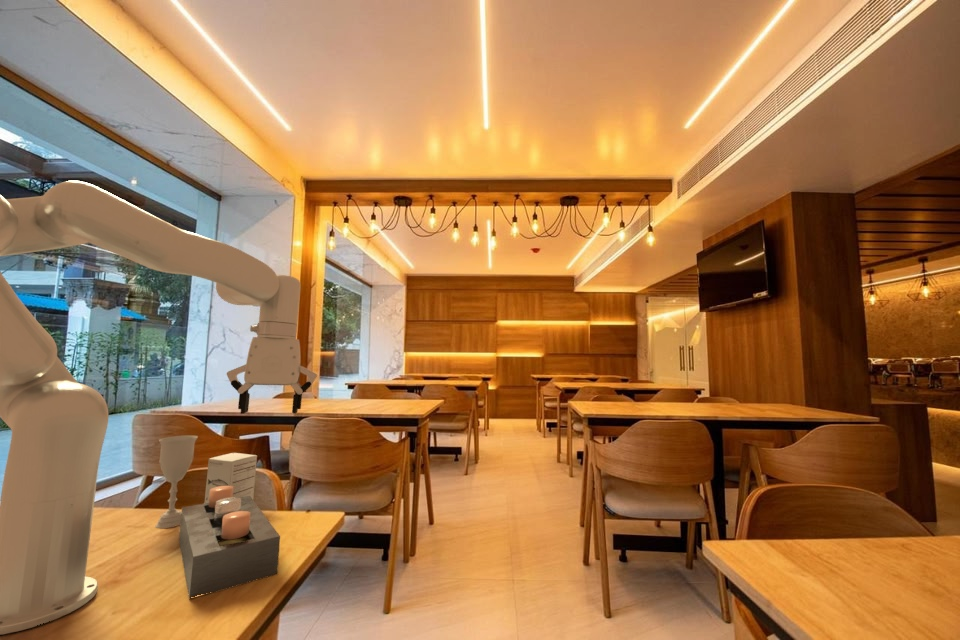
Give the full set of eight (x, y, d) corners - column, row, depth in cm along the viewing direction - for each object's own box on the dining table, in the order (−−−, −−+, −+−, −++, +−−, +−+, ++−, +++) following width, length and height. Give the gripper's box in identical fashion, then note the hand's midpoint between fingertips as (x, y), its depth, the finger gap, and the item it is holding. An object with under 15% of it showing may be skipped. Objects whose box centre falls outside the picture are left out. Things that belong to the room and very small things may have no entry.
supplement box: (201, 514, 92) (207, 458, 93) (230, 504, 99) (234, 451, 100) (226, 518, 90) (231, 460, 91) (254, 507, 97) (258, 454, 98)
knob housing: (189, 599, 59) (193, 556, 60) (178, 538, 79) (181, 507, 80) (277, 573, 67) (280, 536, 67) (247, 524, 87) (249, 495, 87)
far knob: (209, 509, 78) (211, 493, 78) (207, 503, 81) (208, 488, 81) (233, 504, 80) (234, 489, 81) (230, 499, 83) (231, 484, 84)
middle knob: (215, 523, 71) (217, 506, 71) (212, 516, 74) (214, 500, 74) (241, 518, 73) (242, 501, 74) (237, 512, 76) (239, 495, 77)
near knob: (223, 541, 64) (224, 521, 64) (219, 533, 67) (221, 514, 67) (251, 535, 67) (252, 516, 67) (246, 527, 70) (248, 509, 70)
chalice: (172, 530, 83) (181, 441, 85) (140, 529, 83) (149, 441, 85) (197, 517, 90) (205, 435, 92) (168, 516, 90) (176, 435, 92)
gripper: (226, 328, 80) (217, 415, 78) (319, 333, 85) (312, 414, 83) (237, 331, 87) (228, 411, 85) (321, 335, 92) (315, 411, 90)
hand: (269, 412), depth 84 cm, fingers open, 9 cm apart
